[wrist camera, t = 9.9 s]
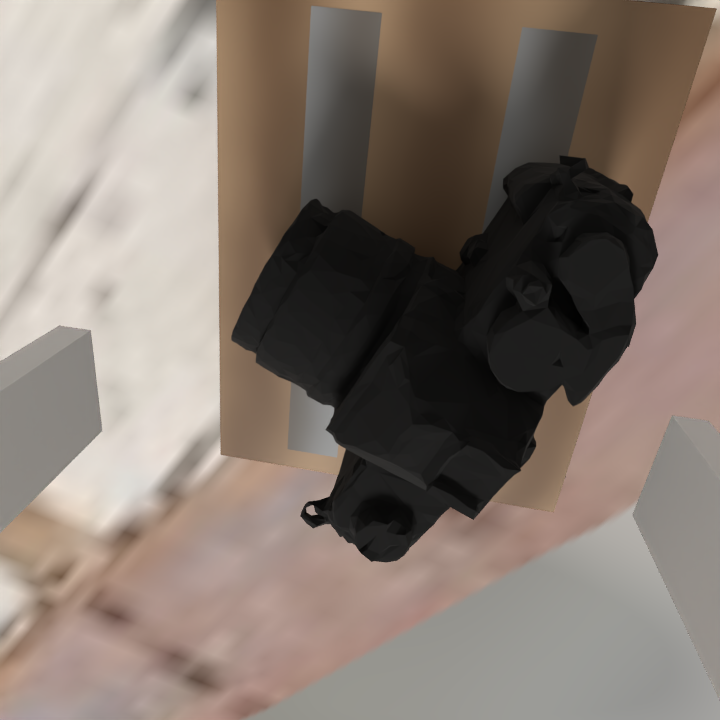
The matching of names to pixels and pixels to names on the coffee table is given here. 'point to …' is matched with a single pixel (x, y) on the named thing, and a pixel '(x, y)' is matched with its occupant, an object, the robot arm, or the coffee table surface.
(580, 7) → the wooden pallet
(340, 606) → the coffee table surface
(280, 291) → the film camera
